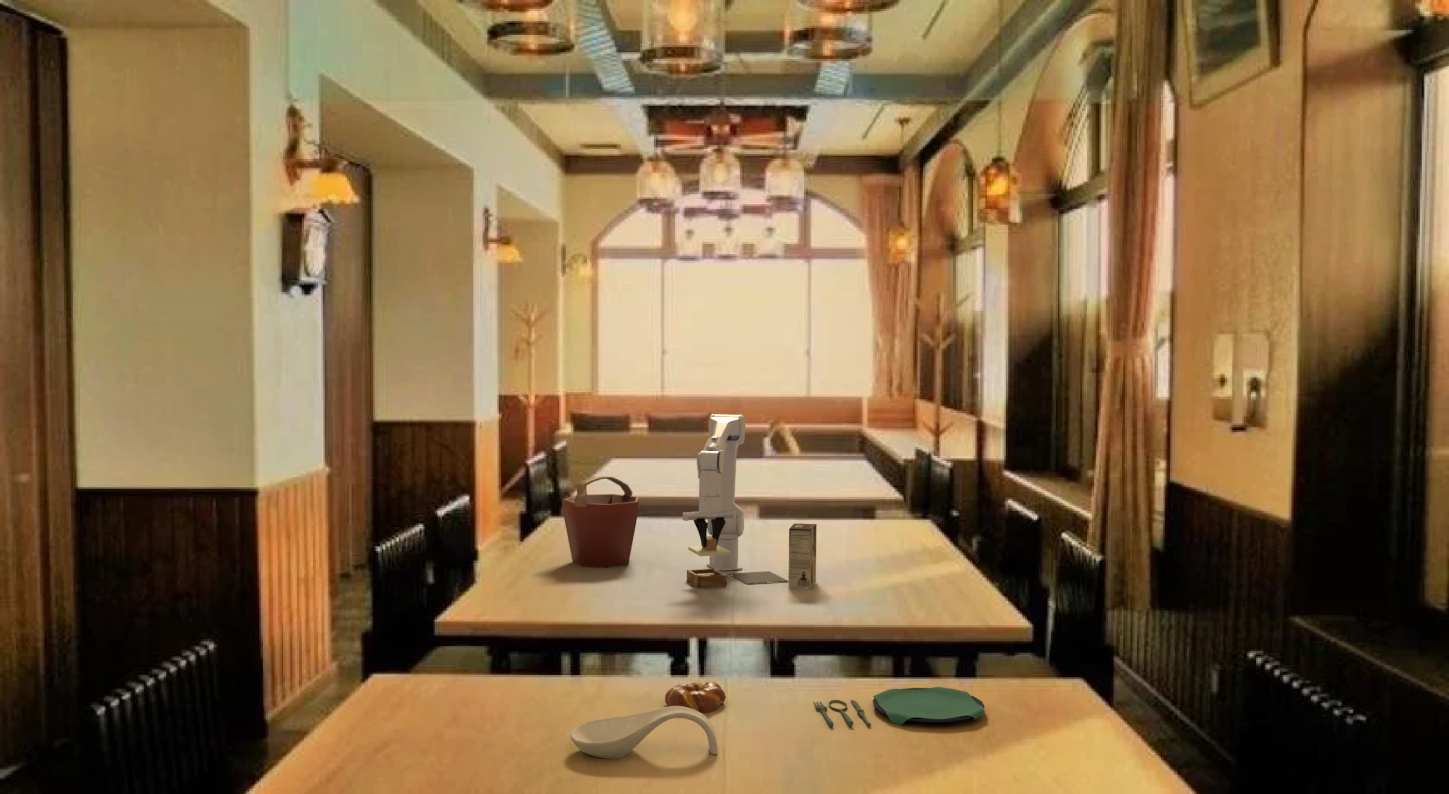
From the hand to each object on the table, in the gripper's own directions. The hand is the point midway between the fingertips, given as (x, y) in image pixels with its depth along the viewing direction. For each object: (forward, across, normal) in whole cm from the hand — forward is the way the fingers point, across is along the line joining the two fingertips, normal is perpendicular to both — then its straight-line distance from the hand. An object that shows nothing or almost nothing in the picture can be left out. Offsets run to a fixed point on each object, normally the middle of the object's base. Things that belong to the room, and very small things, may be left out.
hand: (709, 546), depth 326 cm
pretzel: (+11, -35, -98) cm, 105 cm away
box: (+10, 0, +1) cm, 10 cm away
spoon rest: (+11, -51, -119) cm, 130 cm away
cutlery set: (+11, -2, -113) cm, 114 cm away
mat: (+10, +16, +4) cm, 19 cm away
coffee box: (+11, +24, -8) cm, 27 cm away
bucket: (+11, -20, +39) cm, 46 cm away
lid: (+2, 0, 0) cm, 2 cm away
